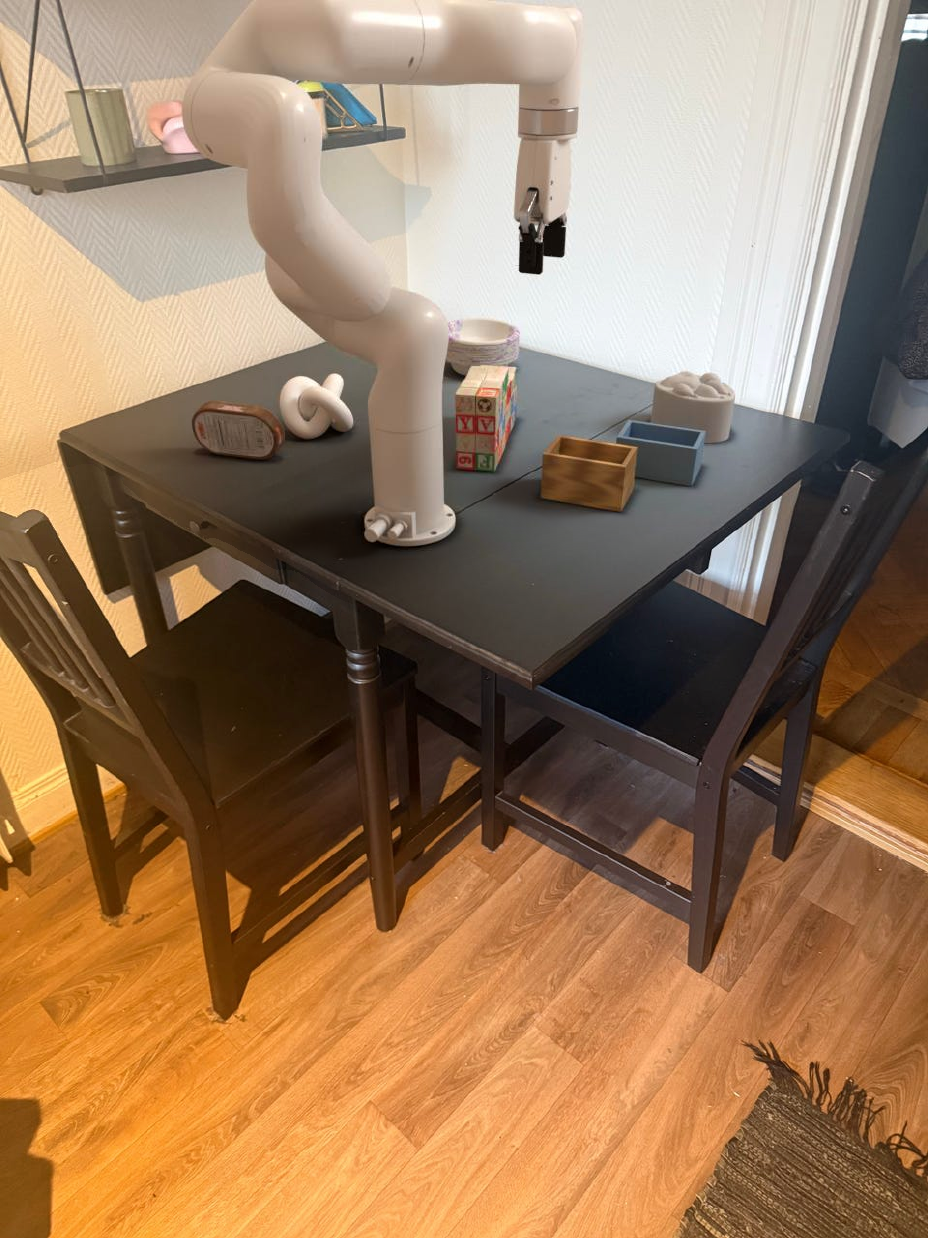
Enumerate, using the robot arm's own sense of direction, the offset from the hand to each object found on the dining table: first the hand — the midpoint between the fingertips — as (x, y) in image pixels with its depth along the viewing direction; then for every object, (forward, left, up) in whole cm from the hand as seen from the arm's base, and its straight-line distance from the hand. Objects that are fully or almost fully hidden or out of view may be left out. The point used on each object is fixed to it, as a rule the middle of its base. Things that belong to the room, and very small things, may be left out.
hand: (542, 264), depth 127 cm
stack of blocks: (+6, +10, -31) cm, 33 cm away
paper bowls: (+38, +24, -31) cm, 54 cm away
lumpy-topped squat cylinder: (+24, -20, -31) cm, 44 cm away
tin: (-13, +45, -31) cm, 56 cm away
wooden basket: (-6, -10, -30) cm, 33 cm away
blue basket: (+6, -18, -30) cm, 36 cm away
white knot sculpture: (+1, +38, -31) cm, 49 cm away
